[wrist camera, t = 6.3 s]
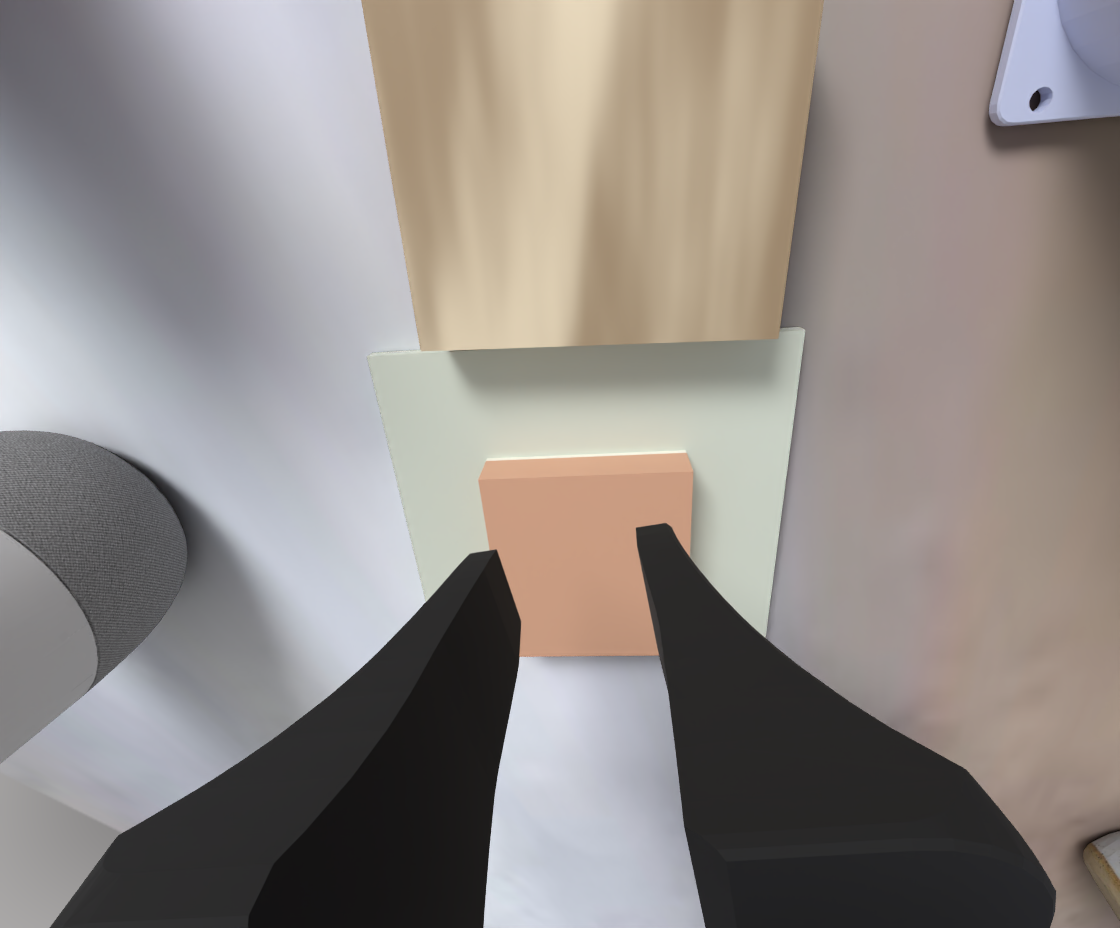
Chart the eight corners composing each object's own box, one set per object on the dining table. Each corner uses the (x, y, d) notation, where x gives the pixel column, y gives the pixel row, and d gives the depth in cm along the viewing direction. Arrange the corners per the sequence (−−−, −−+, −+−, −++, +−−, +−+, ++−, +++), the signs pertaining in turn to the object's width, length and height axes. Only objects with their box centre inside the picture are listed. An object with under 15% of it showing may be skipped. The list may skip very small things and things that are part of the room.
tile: (693, 471, 17) (685, 655, 20) (685, 450, 18) (679, 625, 22) (478, 479, 18) (506, 656, 21) (487, 458, 19) (512, 627, 23)
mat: (799, 327, 17) (805, 330, 16) (761, 635, 23) (764, 644, 22) (372, 352, 18) (367, 356, 18) (439, 639, 24) (436, 647, 23)
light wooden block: (403, 30, 14) (784, -1, 14) (446, 328, 18) (749, 316, 17) (359, -9, 12) (830, -49, 11) (420, 351, 15) (778, 339, 15)
